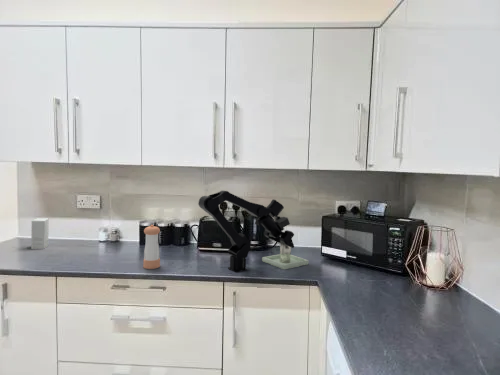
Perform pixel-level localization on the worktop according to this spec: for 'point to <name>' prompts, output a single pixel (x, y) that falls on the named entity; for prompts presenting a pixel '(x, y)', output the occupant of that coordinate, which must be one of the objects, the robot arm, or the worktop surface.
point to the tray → (293, 263)
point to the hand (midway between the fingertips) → (287, 245)
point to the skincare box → (39, 233)
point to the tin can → (285, 253)
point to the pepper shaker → (151, 248)
